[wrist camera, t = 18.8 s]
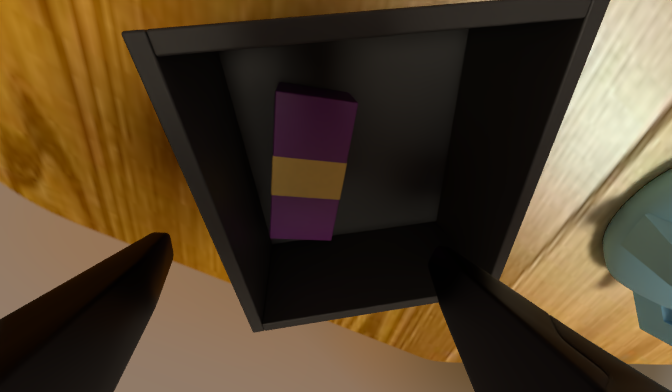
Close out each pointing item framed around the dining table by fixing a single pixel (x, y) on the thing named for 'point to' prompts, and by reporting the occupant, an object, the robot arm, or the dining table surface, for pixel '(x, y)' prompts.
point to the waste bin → (370, 140)
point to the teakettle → (645, 254)
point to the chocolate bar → (309, 159)
